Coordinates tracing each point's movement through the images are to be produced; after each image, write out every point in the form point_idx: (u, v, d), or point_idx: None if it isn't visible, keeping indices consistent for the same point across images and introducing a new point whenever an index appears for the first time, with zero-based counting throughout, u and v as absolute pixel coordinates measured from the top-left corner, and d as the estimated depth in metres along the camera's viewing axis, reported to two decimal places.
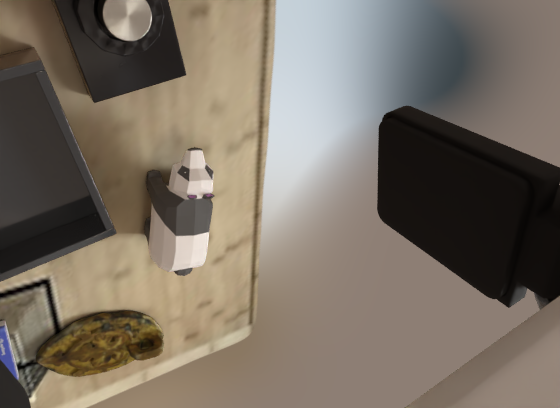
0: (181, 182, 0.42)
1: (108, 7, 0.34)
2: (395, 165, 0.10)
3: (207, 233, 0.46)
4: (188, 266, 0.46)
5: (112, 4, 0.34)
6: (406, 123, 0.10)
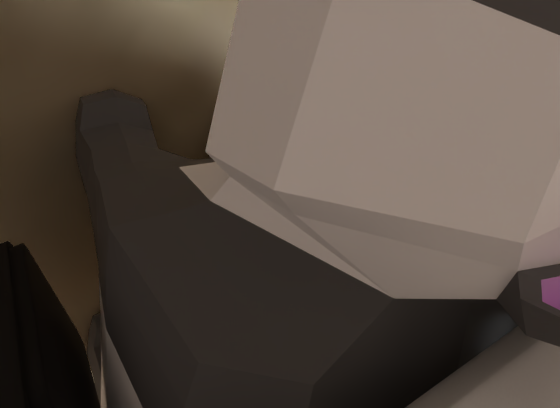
0: (418, 88, 0.03)
1: None
2: None
3: None
4: None
5: None
6: None
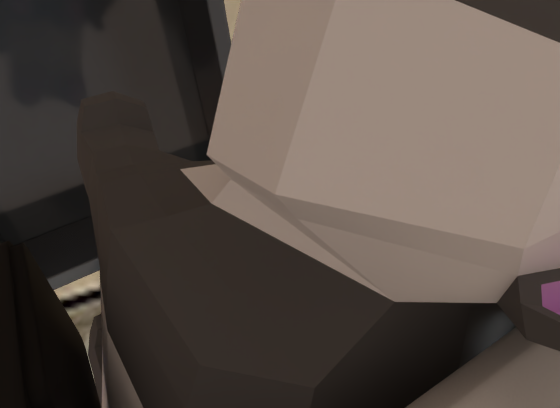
0: (418, 94, 0.03)
1: None
2: None
3: None
4: None
5: None
6: None
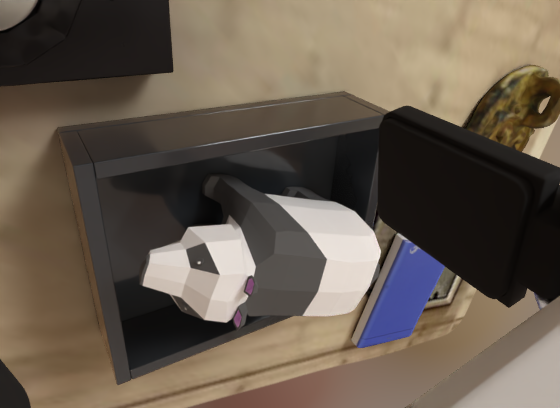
0: None
1: None
2: (395, 165, 0.10)
3: (328, 262, 0.22)
4: (366, 288, 0.25)
5: None
6: (406, 123, 0.10)
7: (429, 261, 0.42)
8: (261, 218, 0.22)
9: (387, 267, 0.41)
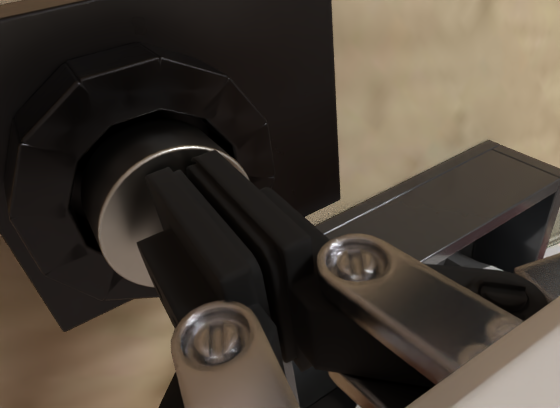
0: None
1: None
2: None
3: None
4: None
5: None
6: (207, 170, 0.09)
7: None
8: None
9: None
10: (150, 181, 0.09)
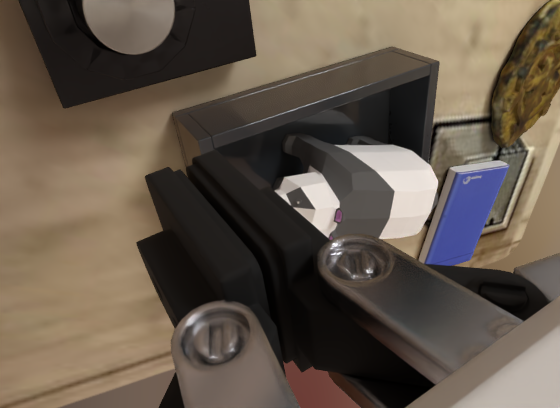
0: None
1: (118, 43, 0.19)
2: None
3: (396, 193, 0.28)
4: (429, 213, 0.30)
5: (112, 36, 0.19)
6: (207, 170, 0.09)
7: (483, 189, 0.46)
8: (337, 164, 0.28)
9: (443, 199, 0.45)
10: (150, 181, 0.09)
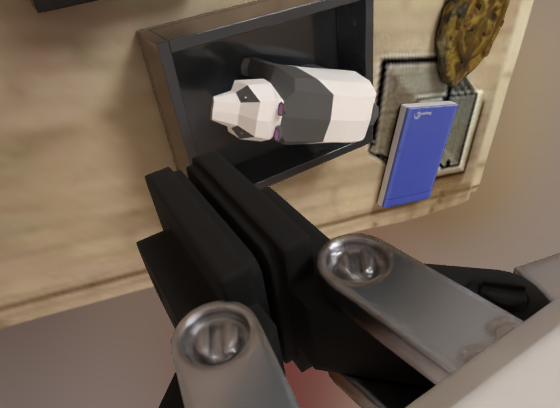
0: (254, 138, 0.30)
1: None
2: None
3: (335, 97, 0.32)
4: (368, 120, 0.34)
5: None
6: (207, 170, 0.09)
7: (434, 126, 0.51)
8: (283, 73, 0.32)
9: (397, 134, 0.49)
10: (150, 181, 0.09)
